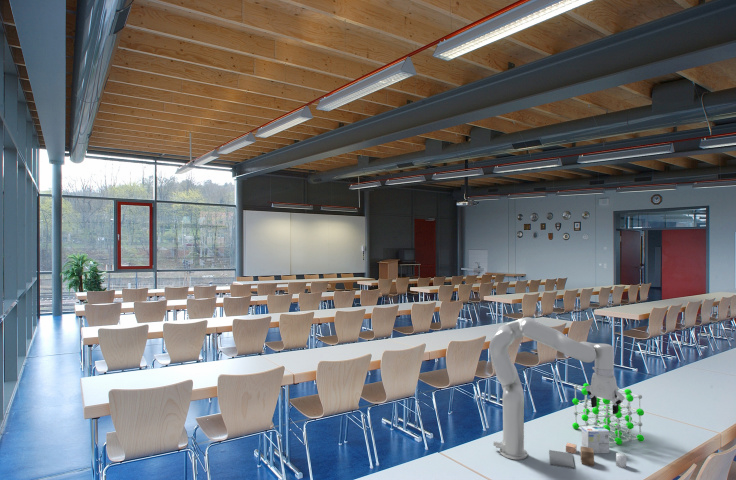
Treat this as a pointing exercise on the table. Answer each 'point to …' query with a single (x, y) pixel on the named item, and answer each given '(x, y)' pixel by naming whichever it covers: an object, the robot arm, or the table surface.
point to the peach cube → (571, 448)
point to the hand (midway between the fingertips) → (604, 410)
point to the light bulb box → (595, 438)
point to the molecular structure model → (608, 415)
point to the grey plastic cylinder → (621, 460)
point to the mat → (561, 459)
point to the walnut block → (587, 456)
